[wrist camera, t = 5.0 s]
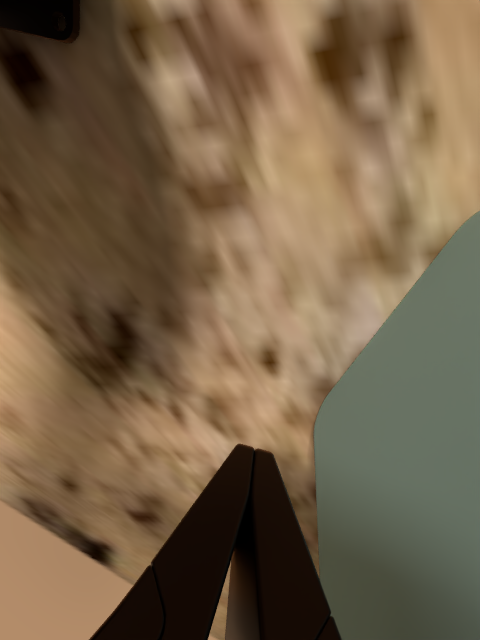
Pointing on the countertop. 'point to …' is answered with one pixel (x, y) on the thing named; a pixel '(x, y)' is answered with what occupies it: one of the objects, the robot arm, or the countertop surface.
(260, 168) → the countertop surface
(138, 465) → the countertop surface
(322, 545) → the data package
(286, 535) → the robot arm
